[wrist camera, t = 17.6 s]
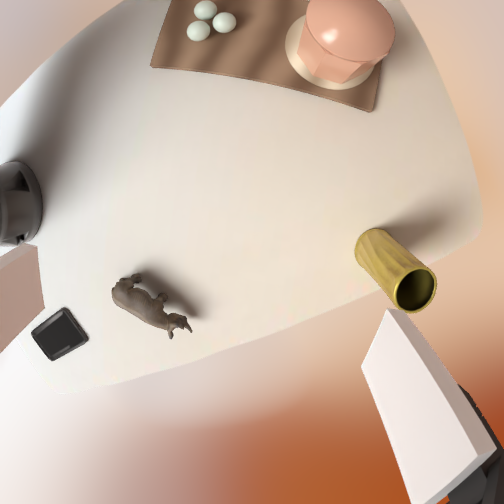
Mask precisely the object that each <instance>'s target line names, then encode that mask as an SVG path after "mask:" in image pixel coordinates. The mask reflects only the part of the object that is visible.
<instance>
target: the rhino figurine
mask: <svg viewBox="0 0 504 504" xmlns="http://www.w3.org/2000/svg"><path fill="white" fill-rule="evenodd" d="M140 281H141V278H140V277H139V275H138V274H134V275H132V276H131V278H127V279H126V280H125V279H123V278H121V279H120V280H119V282H117V283H116V285H115V287H113V288H112V298H113V301H114V303H115V304H116V305H117V306H119V307H120V308H122V309H125V310H127V311H128V312H130V313H131V314H133V315H135V316H136V317H138V318H139V319H141V320H142V321H144V322H146V323H148V324H150V325H152V326H155V327H157V328H162V329H164V330H167V331H168V335H169V338H170V339H172V338H173V332H172V331H173V330H174V328H178V327H179V328H181V329H183V330H184V327H185V328H186V329H188V330H189V331H190V332H191V333H192V329H191V327H190V326H189V324H188V323H187V318H186V316H182V315H179V314H176V313H171V314H169V315H167V313H165V312H164V311H163V308H164V306H163V302H164V301H166V300H167V299H168V296H167V295H166V294H165V293H160V294H159V295H158V297H157V298H156V299H152V298H151V296H150V295H149V294H148V293H147V292H146V291H145V290H142V289H140V288H133V287H134V285H133V284H134V283H139V282H140Z"/></svg>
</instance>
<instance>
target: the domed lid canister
mask: <svg viewBox="0 0 504 504" xmlns="http://www.w3.org/2000/svg"><path fill="white" fill-rule="evenodd" d="M394 38H395V27H394V23H393V21H392V18H391V16H390V15H389V13H388V12H387V10H386V9H385V8H384V7H383V5H382V4H381V3H379V2H378V1H377V0H310V2H309V4H308V7H307V11H306V18H305V22H304V26H303V30H302V34H301V38H300V42H299V46H298V50H297V54H298V56H299V57H300V58H301V60H302V61H303V63H304V64H305V65H306V67H307V68H308V70H309V71H310V72H311V74H312V75H313V76H315V77H318V78H322V79H325V80H329V81H332V82H335V83H338V84H343V83H345V82H347V81H349V80H351V79H354V78H356V77H358V76H360V75H362V74H364V73H365V72H367V71H368V70H369V69H370V68H371V67H373V66H374V65H375V64H376V63H377V62H379V61H380V60H381V59H382V58H383V57H385V56H386V55H387V54H388V53H389V51H390V48H391V46H392V44H393V42H394Z"/></svg>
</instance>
